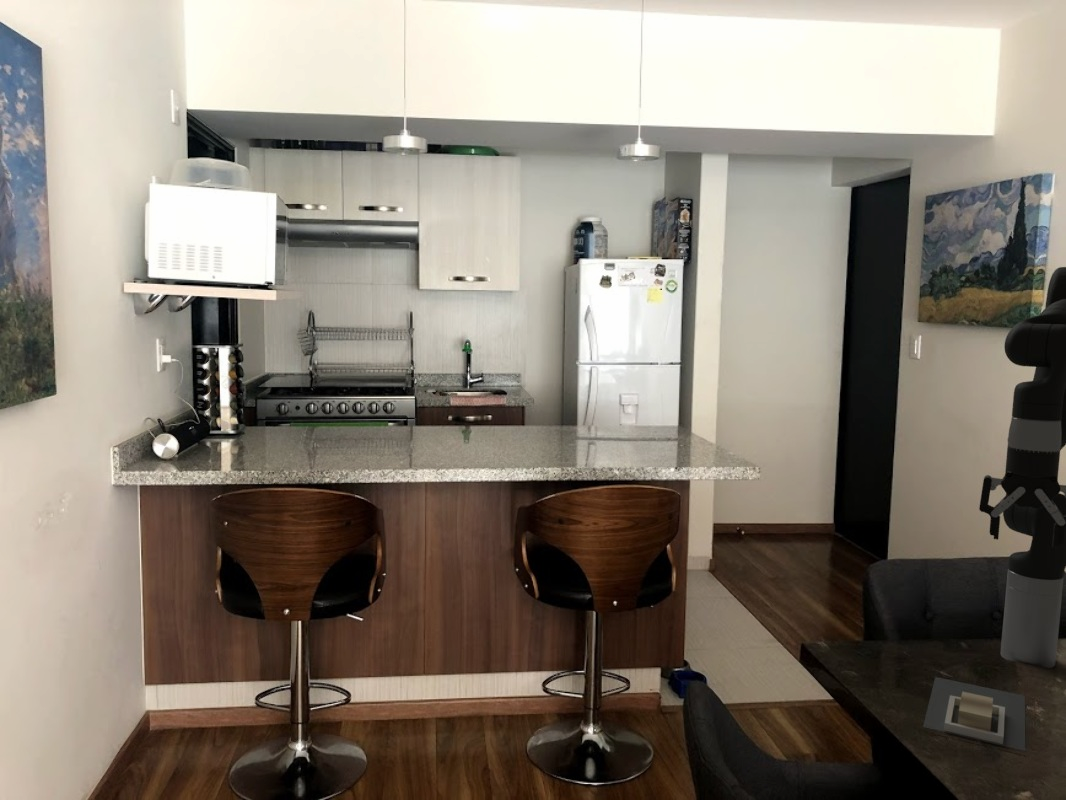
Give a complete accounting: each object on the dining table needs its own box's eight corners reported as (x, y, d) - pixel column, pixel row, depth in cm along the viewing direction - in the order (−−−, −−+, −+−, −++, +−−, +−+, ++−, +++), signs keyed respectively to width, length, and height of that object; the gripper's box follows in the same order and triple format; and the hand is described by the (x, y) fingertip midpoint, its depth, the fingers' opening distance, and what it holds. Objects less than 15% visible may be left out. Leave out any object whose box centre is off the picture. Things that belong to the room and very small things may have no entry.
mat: (934, 681, 155) (935, 676, 155) (1024, 700, 149) (1024, 695, 148) (922, 731, 136) (923, 726, 136) (1024, 756, 129) (1025, 751, 129)
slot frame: (949, 702, 145) (950, 695, 145) (1004, 714, 141) (1004, 707, 141) (943, 730, 135) (944, 723, 135) (1002, 744, 131) (1003, 736, 131)
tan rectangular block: (989, 736, 134) (991, 717, 133) (957, 728, 136) (959, 710, 136) (991, 715, 141) (993, 698, 140) (960, 708, 143) (962, 691, 142)
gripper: (984, 444, 142) (976, 541, 144) (1086, 453, 135) (1076, 554, 137) (985, 439, 149) (978, 531, 150) (1083, 447, 142) (1074, 544, 144)
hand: (1025, 542), depth 144 cm, fingers open, 8 cm apart
